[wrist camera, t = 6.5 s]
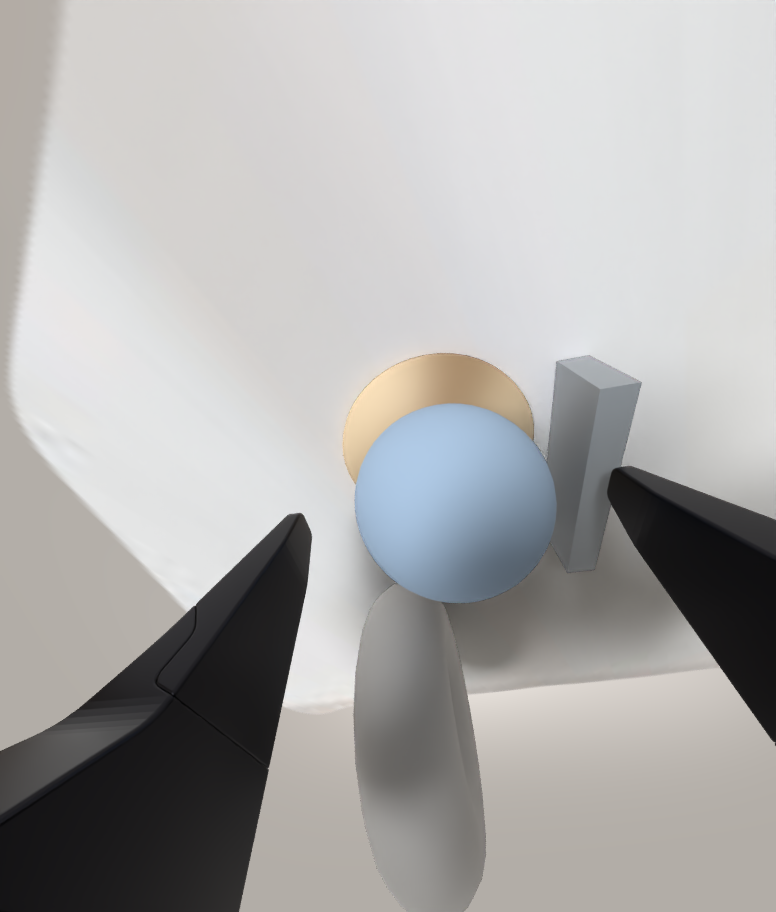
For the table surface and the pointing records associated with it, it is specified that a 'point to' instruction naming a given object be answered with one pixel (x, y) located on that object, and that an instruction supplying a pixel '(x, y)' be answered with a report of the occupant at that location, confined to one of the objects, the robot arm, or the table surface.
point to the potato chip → (429, 398)
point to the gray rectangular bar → (586, 452)
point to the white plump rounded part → (418, 755)
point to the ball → (455, 503)
